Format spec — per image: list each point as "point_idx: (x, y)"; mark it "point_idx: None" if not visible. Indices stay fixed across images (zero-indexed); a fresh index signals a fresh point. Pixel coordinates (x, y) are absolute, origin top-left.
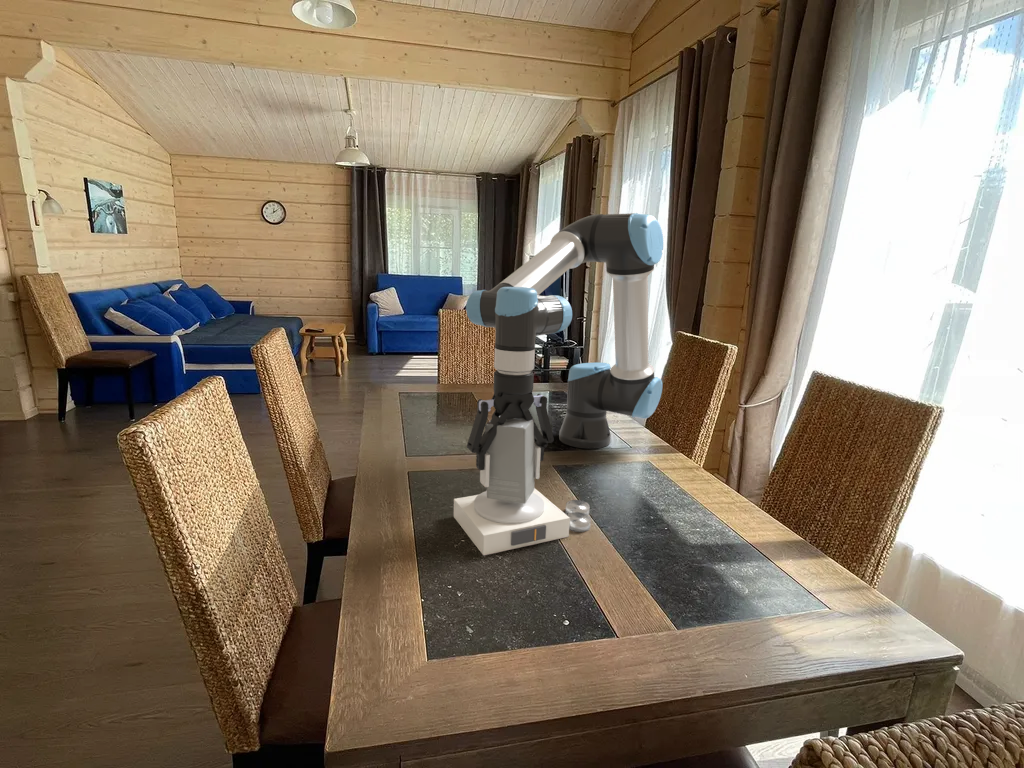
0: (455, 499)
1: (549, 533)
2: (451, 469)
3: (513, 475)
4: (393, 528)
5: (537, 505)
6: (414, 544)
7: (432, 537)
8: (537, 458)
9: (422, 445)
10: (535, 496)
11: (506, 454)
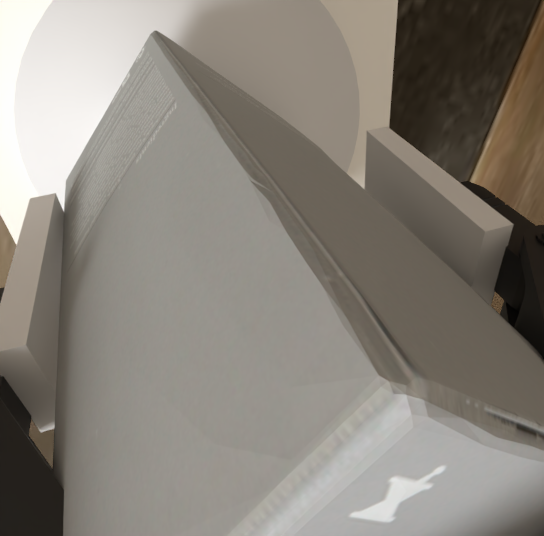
0: None
1: None
2: None
3: (263, 115)
4: (527, 157)
5: (60, 81)
6: (527, 43)
7: (462, 76)
8: (33, 280)
9: None
10: (55, 185)
11: (378, 211)
